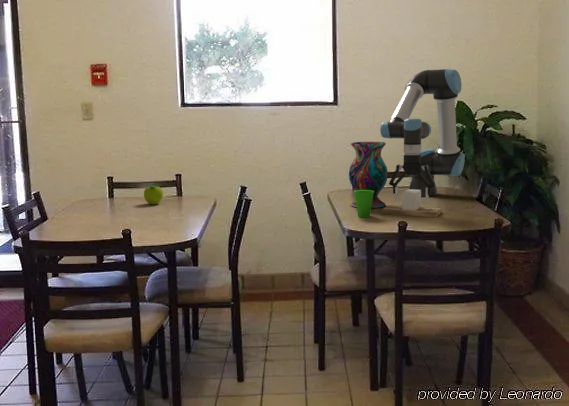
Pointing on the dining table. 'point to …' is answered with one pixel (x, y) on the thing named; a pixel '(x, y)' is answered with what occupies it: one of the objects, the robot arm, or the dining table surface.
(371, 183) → the vase
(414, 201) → the white cube
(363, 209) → the cup
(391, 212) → the board
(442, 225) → the dining table surface
